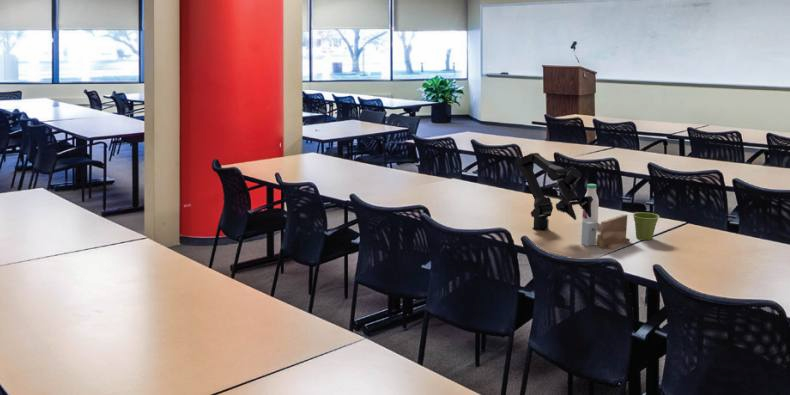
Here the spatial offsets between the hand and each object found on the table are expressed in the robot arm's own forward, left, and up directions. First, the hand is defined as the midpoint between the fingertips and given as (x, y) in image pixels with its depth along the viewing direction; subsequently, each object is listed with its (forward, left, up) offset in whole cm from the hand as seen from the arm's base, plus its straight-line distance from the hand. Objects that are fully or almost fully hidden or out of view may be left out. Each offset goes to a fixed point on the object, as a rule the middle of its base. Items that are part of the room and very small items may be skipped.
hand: (583, 218), depth 332 cm
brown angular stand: (+11, +4, -11) cm, 16 cm away
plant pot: (+25, +19, -12) cm, 34 cm away
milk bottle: (-4, +39, -12) cm, 40 cm away
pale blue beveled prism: (+3, -2, -11) cm, 12 cm away
